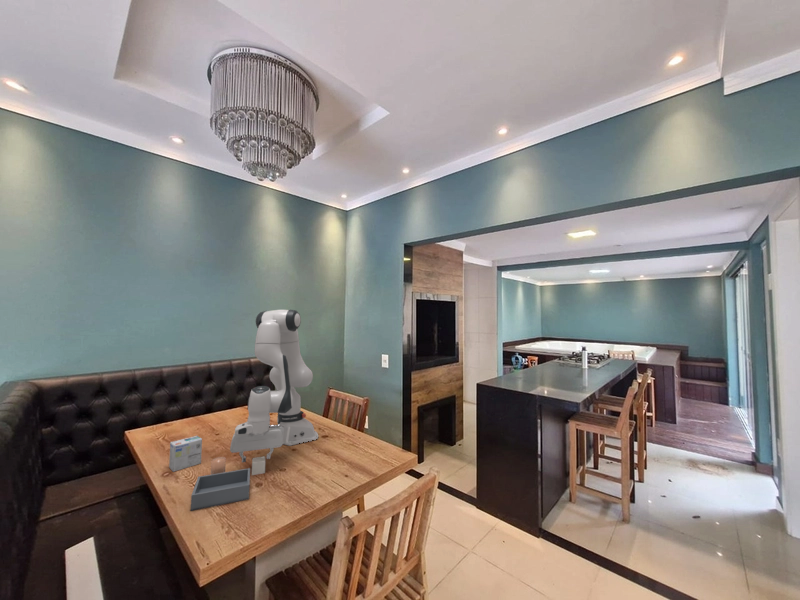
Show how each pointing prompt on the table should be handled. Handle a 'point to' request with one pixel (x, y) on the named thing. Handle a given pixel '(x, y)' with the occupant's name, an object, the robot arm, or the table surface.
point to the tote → (220, 489)
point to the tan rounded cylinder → (218, 465)
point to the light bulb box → (185, 453)
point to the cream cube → (258, 465)
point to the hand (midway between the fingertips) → (256, 460)
